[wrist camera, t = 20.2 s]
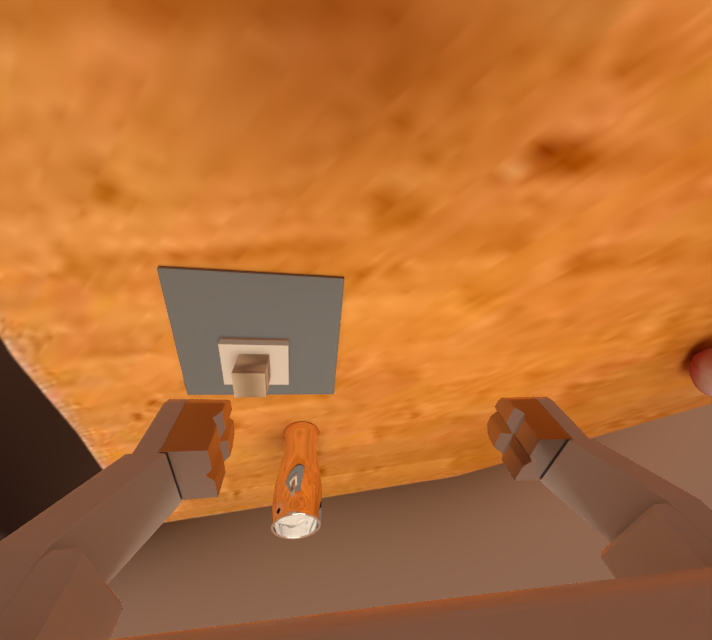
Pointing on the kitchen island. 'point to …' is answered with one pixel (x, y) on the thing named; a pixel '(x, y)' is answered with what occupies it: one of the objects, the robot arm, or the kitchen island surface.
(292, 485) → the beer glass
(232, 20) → the kitchen island surface
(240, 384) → the beech cube
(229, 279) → the mat
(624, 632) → the robot arm
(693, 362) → the decorative fruit
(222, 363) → the tile
